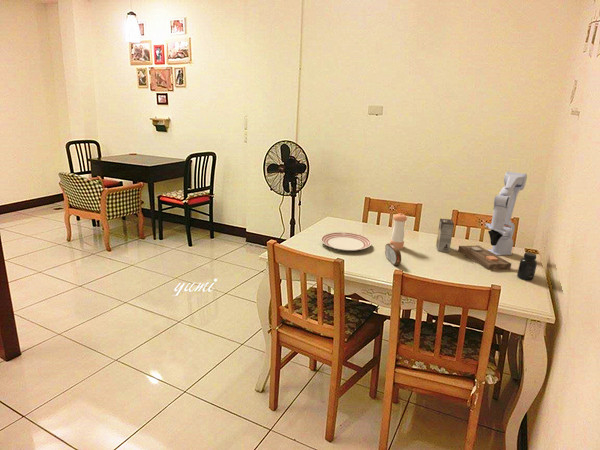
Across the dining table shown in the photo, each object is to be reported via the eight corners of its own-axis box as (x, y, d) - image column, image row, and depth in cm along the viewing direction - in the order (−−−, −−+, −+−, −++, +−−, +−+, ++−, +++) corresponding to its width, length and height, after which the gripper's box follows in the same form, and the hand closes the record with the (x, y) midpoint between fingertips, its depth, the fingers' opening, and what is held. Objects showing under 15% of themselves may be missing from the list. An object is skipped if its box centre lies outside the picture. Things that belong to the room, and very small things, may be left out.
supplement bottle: (513, 274, 187) (518, 251, 183) (527, 275, 188) (532, 251, 184) (522, 281, 180) (528, 256, 177) (536, 281, 181) (542, 256, 178)
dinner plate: (366, 258, 199) (367, 251, 198) (314, 249, 207) (314, 243, 206) (374, 241, 224) (375, 236, 223) (327, 234, 232) (328, 229, 231)
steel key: (476, 252, 212) (477, 247, 212) (481, 255, 209) (482, 249, 208) (469, 252, 212) (470, 247, 211) (474, 255, 208) (475, 249, 207)
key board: (477, 250, 218) (478, 245, 217) (510, 269, 193) (511, 263, 192) (458, 251, 215) (458, 245, 214) (488, 270, 191) (489, 264, 190)
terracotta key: (492, 261, 200) (493, 255, 199) (497, 264, 196) (498, 258, 196) (485, 261, 199) (486, 256, 199) (490, 264, 196) (491, 259, 195)
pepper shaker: (388, 247, 215) (392, 213, 210) (390, 243, 222) (395, 210, 216) (402, 249, 213) (406, 215, 207) (404, 245, 219) (408, 212, 214)
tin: (400, 267, 189) (403, 251, 186) (394, 267, 188) (396, 251, 186) (389, 256, 203) (390, 240, 200) (383, 256, 202) (385, 240, 200)
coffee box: (435, 245, 223) (439, 218, 218) (447, 246, 221) (451, 219, 217) (437, 250, 214) (442, 222, 209) (449, 252, 213) (454, 223, 208)
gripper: (482, 215, 201) (477, 240, 205) (501, 223, 187) (495, 250, 191) (494, 215, 202) (489, 240, 206) (514, 223, 189) (508, 250, 193)
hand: (493, 245), depth 199 cm, fingers closed
